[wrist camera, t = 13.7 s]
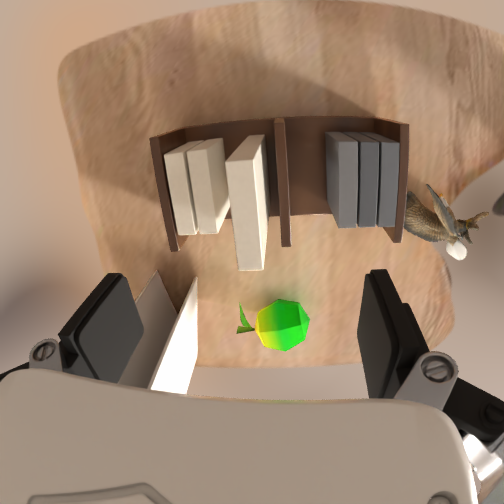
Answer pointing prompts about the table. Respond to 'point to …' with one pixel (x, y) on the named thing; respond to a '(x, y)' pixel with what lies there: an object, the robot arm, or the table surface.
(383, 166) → the grey books
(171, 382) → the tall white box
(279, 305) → the apple
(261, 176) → the white book
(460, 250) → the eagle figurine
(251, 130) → the book rack
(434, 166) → the table surface
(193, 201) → the white books
